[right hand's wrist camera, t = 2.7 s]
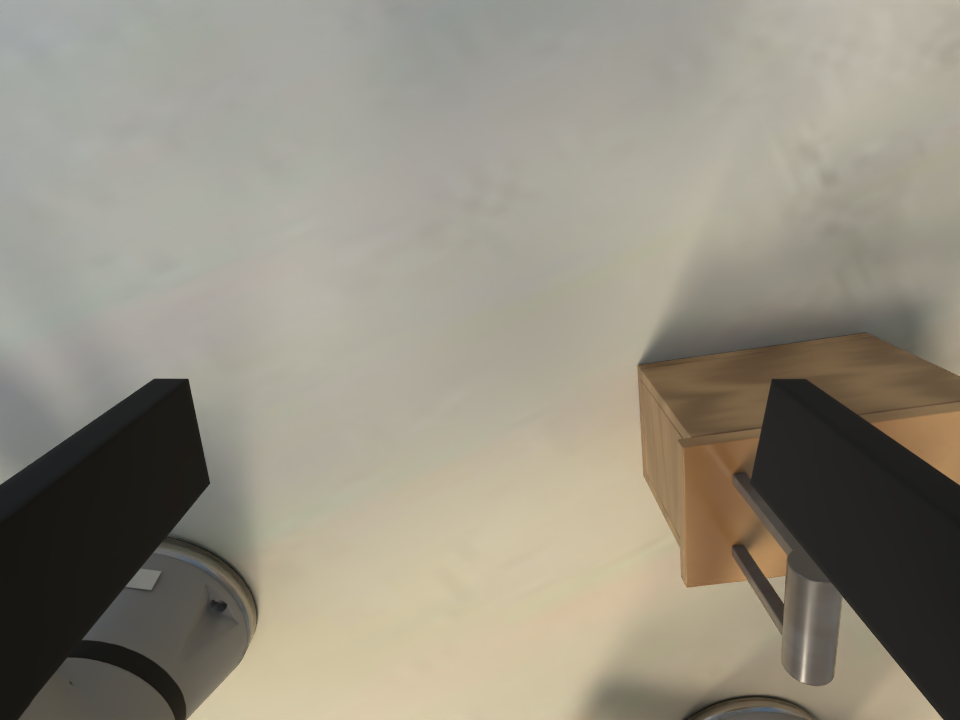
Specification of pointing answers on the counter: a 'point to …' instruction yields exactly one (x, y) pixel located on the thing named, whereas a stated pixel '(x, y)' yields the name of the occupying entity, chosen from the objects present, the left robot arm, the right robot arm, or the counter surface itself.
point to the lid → (782, 530)
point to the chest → (745, 387)
